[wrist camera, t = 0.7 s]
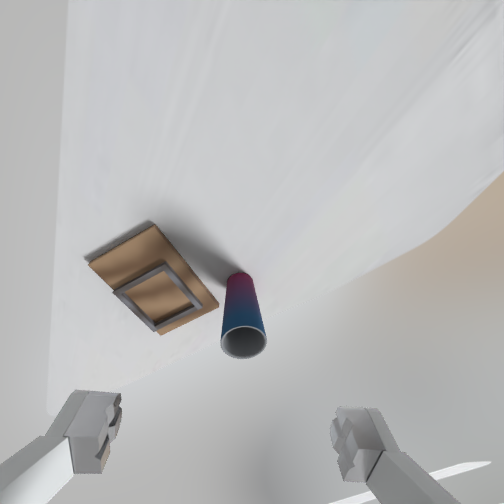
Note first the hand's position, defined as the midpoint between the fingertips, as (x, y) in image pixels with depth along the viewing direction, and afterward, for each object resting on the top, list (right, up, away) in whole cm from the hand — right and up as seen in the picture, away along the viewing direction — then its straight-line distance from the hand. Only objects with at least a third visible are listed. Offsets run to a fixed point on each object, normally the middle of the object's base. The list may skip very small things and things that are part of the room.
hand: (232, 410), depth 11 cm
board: (-17, 0, +42) cm, 46 cm away
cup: (-2, 0, +44) cm, 44 cm away
